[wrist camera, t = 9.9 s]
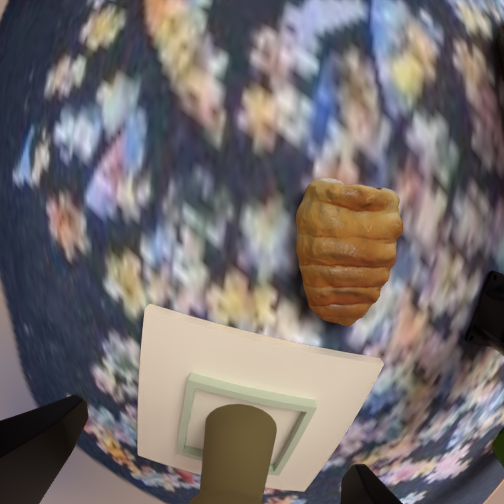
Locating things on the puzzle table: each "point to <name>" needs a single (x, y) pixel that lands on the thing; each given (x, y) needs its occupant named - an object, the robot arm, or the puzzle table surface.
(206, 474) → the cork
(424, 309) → the puzzle table surface
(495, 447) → the wine bottle
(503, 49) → the dark grey round container
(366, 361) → the cream flat square slab
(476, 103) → the puzzle table surface
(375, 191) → the pastry
